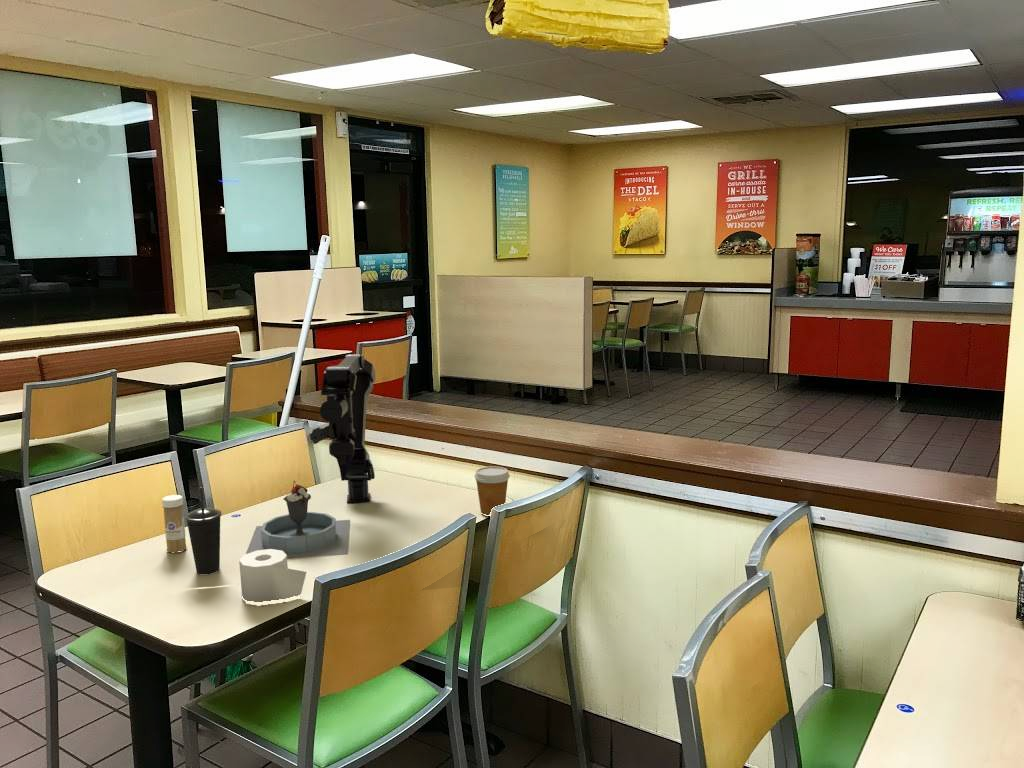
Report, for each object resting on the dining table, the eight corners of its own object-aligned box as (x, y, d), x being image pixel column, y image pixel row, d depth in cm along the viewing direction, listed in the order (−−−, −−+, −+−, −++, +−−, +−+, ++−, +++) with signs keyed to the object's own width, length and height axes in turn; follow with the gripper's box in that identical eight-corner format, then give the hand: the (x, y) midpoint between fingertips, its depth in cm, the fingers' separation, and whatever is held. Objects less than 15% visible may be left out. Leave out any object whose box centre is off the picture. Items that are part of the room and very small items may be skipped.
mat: (256, 527, 208) (256, 526, 208) (350, 521, 212) (350, 519, 212) (242, 564, 185) (242, 562, 185) (348, 555, 189) (347, 554, 189)
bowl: (267, 529, 205) (266, 514, 205) (337, 524, 208) (336, 510, 208) (258, 555, 188) (257, 539, 188) (334, 550, 191) (333, 534, 191)
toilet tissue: (308, 600, 166) (305, 561, 164) (241, 608, 162) (237, 568, 161) (307, 582, 175) (304, 545, 173) (243, 590, 171) (240, 552, 170)
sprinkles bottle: (165, 554, 191) (160, 501, 188) (167, 548, 195) (163, 495, 193) (186, 552, 192) (181, 499, 190) (188, 545, 196) (183, 493, 194)
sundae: (292, 543, 194) (288, 484, 191) (281, 535, 199) (277, 477, 196) (317, 536, 198) (314, 478, 195) (307, 529, 203) (303, 472, 200)
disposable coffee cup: (517, 512, 217) (516, 470, 215) (492, 522, 210) (492, 478, 208) (492, 505, 223) (491, 463, 221) (467, 514, 216) (466, 471, 214)
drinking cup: (217, 562, 186) (210, 479, 182) (232, 571, 181) (225, 486, 177) (184, 572, 181) (176, 487, 177) (198, 581, 175) (191, 494, 172)
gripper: (312, 408, 217) (315, 463, 220) (307, 423, 199) (310, 483, 202) (353, 406, 219) (356, 460, 222) (352, 421, 201) (355, 480, 204)
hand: (344, 471), depth 212 cm, fingers open, 9 cm apart
